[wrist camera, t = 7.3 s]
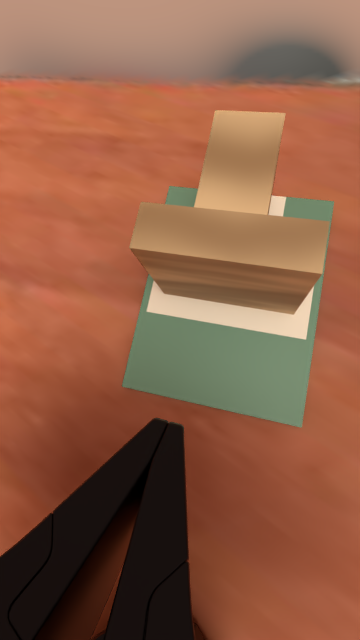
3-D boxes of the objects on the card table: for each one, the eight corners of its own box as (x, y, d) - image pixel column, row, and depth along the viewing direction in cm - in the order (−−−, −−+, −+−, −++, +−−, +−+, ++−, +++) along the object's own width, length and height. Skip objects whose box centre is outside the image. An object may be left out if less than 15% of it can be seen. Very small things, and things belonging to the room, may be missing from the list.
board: (300, 426, 21) (301, 427, 21) (124, 386, 24) (121, 386, 23) (332, 205, 24) (334, 201, 23) (170, 189, 26) (169, 186, 26)
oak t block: (293, 314, 22) (322, 273, 15) (164, 293, 24) (129, 247, 16) (310, 205, 24) (344, 115, 16) (186, 193, 26) (164, 108, 18)
